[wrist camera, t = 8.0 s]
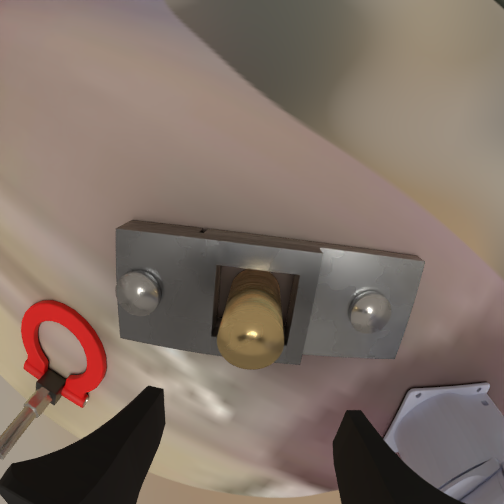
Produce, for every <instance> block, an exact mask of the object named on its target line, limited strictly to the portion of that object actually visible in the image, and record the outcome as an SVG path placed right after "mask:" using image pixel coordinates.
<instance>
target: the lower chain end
mask: <svg viewBox="0 0 504 504" xmlns="http://www.w3.org/2000/svg"><path fill="white" fill-rule="evenodd" d="M204 233H207V234H215V235H223V236H232V237H240V238H248V239H256V240H265V241H273V242H281V243H289V244H296V245H304V246H312V247H320V249H321V251H322V253H323V257H322V263H321V268H320V273H319V279H318V284H317V289H316V294H315V299H314V304H313V308H312V313H311V318H310V323H309V327H308V332H307V336H306V341H305V345H304V349H303V354H305V355H318V356H332V357H350V358H374V359H395V357H396V354H397V351H398V349H399V346H400V343H401V340H402V337H403V335H404V332H405V329H406V326H407V323H408V320H409V317H410V313H411V310H412V307H413V304H414V300H415V297H416V294H417V290H418V287H419V283H420V279H421V276H422V272H423V268H424V264H425V261H424V260H422V259H421V258H419V257H418V256H414V255H407V254H400V253H393V252H386V251H379V250H372V249H365V248H357V247H350V246H343V245H335V244H328V243H320V242H312V241H305V240H297V239H289V238H281V237H273V236H265V235H257V234H249V233H241V232H232V231H224V230H215V229H207V230H206V231H205V232H204ZM220 276H221V265H219V273H218V285H217V297H216V310H215V323H214V326H215V327H220V324H221V321H222V318H218V317H217V313H218V300H219V288H220ZM296 278H297V275H296V274H294V279H293V285H292V291H291V297H290V302H289V308H288V314H287V319H286V325H285V326H283V333H284V335H286V333H287V328H288V323H289V317H290V312H291V306H292V301H293V295H294V290H295V284H296Z"/></svg>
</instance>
